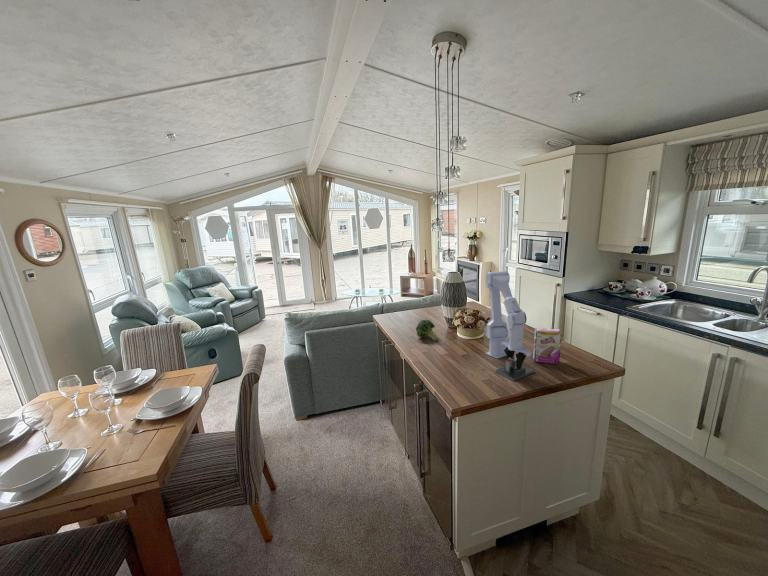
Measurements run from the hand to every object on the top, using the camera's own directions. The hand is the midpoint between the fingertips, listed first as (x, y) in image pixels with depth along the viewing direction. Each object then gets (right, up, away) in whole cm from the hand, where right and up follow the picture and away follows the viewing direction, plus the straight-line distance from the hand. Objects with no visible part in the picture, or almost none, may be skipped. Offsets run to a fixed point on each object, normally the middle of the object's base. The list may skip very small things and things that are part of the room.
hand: (515, 365), depth 143 cm
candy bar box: (+19, -1, +9) cm, 21 cm away
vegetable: (-33, +5, +48) cm, 59 cm away
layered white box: (0, -2, 0) cm, 2 cm away
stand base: (0, -3, +1) cm, 3 cm away
